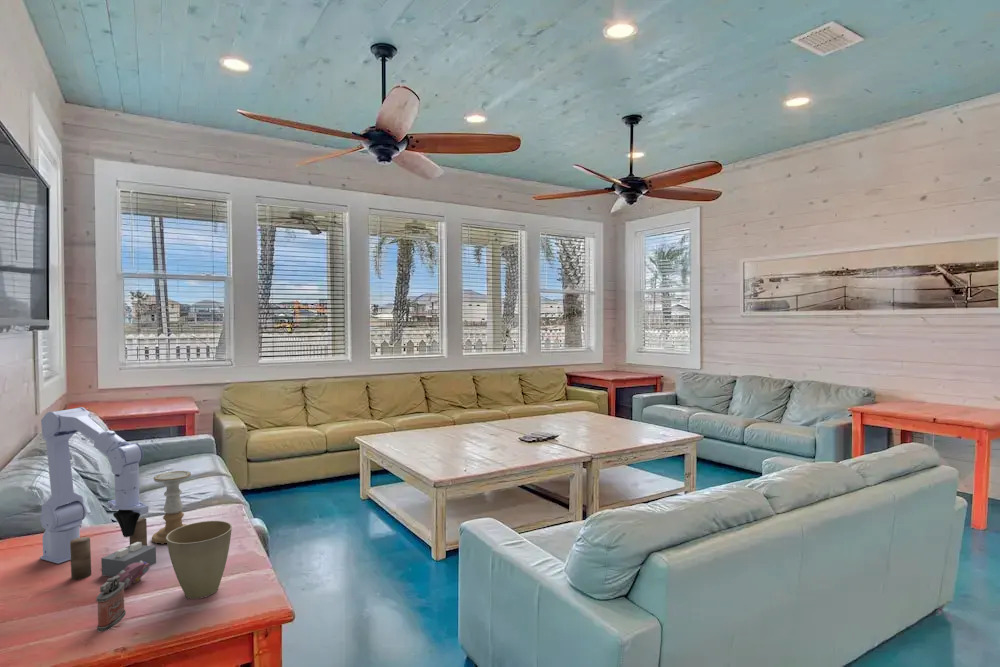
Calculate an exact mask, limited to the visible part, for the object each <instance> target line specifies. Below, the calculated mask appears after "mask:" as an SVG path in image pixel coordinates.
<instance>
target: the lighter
mask: <svg viewBox="0 0 1000 667" xmlns="http://www.w3.org/2000/svg"><path fill="white" fill-rule="evenodd" d="M119 580H120V576H114V577H110V578H107V579H106V582H105V583H103V584H102V585H100V587H99V589H100V590H99V592H100V593H99V594H98V595H97V596H96V600H95V601H96V603H97V620H98V621H97V622H98V623H97V627H96V628H97V632H106V631H108V629H109V630H110V629H112V628H113V627H115V626H116V625H117V624H118V623H119V622H120V621H121V620H123V618H124V617H125V616H126V609H125V589H124V587H125V583H124V582H119ZM114 625H115V626H114ZM111 627H112V628H111ZM105 630H106V631H105Z"/></svg>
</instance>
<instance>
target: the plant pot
mask: <svg viewBox="0 0 1000 667" xmlns="http://www.w3.org/2000/svg"><path fill="white" fill-rule="evenodd" d="M232 530H233V525H232V524H231V523H230V522H227V521H224V520H206V521H205V520H204V521H198V522H192V523H189V524H186V525H185V526H182V527H179V528H177V529H175V530H173V531H171V532H170V533H169V534H168V535H167V536H166V541H167V544H166V546H167V549H168V550H167V551H168V553H169V558H170V561H171V565H172V568H173V571H174V574H175V577H176V578H177V581H178V583H179V585H180V587H181V590H182V591H183V593H184V596H185V597H186V598H187V599H189V598H191V599H192V600H196V598H200V599H202V598H201V597H204V598H206V597H205V596H208V595H210V596H212V595H214V594H215V593H216V592H217V591H218V590H219V587H220V585H221V581H222V579H223V575H224V571H225V568H226V564H227V559H228V557H229V550H230V546H231V539H232V538H231V537H232ZM214 592H215V593H214ZM213 593H214V594H213ZM211 594H212V595H211ZM208 597H209V596H208ZM191 599H190V600H191Z"/></svg>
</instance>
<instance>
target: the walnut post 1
mask: <svg viewBox="0 0 1000 667" xmlns="http://www.w3.org/2000/svg"><path fill="white" fill-rule="evenodd" d="M70 552H71V559H70V573H71V575H70V576H71V580H72V581H73V580H74V581H77V580H78V581H79V580H83V579H86V578H88V577H90V576H91V575H92V557H91V556H92V551H91V537H90V536H82V537H81V536H80V538H76V539H74V540H72V541H70Z"/></svg>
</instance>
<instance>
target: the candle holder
mask: <svg viewBox="0 0 1000 667" xmlns="http://www.w3.org/2000/svg"><path fill="white" fill-rule="evenodd" d="M191 476H192V474H191V471H188V470H175V471H174V470H172V471H167V472H161V473H158V474H156V475H155V476H153V481H154V482H155V483H159V484H161V483H162V484H163V485H164V486H165V487H166V490H165V492H164V493H163V496H164V497H165V503H164V506H163V509H162V510H163V511H164V513H165V514H164V515H163V516H162V519H163V520H164V521H165V526H164V527H162V528H160V529H159V530H158V531H156V532H154V534H153V535H152V537H151V541H152V542H153V543H154V542H155V543H154V544H157V543H161V544H160V545H165V544H164V543H167V541H166V536H167V535H168V534H169V533H170V532H171V531H173V530H175V529H177V528H179V527H182V526H185V525H187V524H184V523H183V520H182V519H183V517H184V516H185V513H184V512H182V510H183V509H184V504H183V501H182V500H181V499H182V498H181V494H182V493H183V490H181V489H180V485H181V483H182V482H183V481H184V480H186V479H189V478H190V477H191Z"/></svg>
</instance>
